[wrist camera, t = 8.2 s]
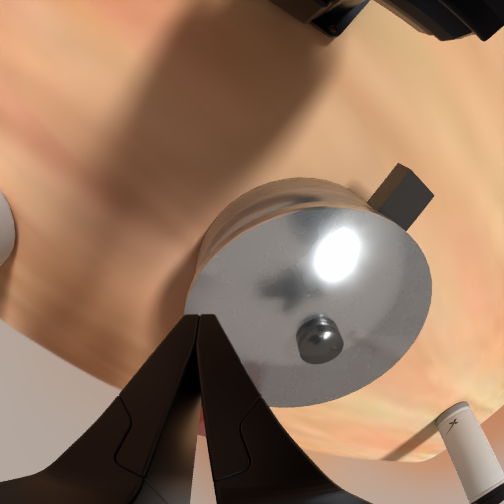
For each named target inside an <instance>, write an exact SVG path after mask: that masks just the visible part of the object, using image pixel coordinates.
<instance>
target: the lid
mask: <svg viewBox="0 0 504 504" xmlns="http://www.w3.org/2000/svg"><path fill="white" fill-rule="evenodd" d="M431 295H432V280H431V274H430V269H429V266H428V263H427V260H426V258H425V255H424V254H423V252H422V250H421V249H420V247H419V245H418V244H417V243H416V242H415V241H414V240H413V238H412V237H411V236H410V235H409V234H408V233H407V232H406V231H405V230H404V229H403V228H401V227H400V226H399V225H398V224H397V223H395V222H394V221H393V220H391V219H390V218H389V217H387V216H385V215H383V214H381V213H379V212H377V211H376V210H373V209H370V208H367V207H364V206H361V205H358V204H352V203H346V202H339V201H317V202H308V203H300V204H296V205H292V206H288V207H284V208H280V209H278V210H275V211H272V212H270V213H267V214H265V215H262V216H260V217H258V218H256V219H254V220H252V221H251V222H249V223H247V224H245V225H243V226H242V227H240V228H239V229H238V230H236V231H235V232H233V233H232V234H231V235H229V236H228V237H226V238H225V239H224V240H223V241H222V242H221V243H220V244H219V245H218V246H217V247H216V248H215V249H214V250H213V251H212V252H211V253H210V254H209V256H208V257H207V258H206V259H205V261H204V262H203V263H202V264H201V266H200V268H199V269H198V271H197V273H196V275H195V276H194V278H193V280H192V283H191V285H190V288H189V290H188V293H187V298H186V303H185V308H184V314H183V316H184V315H185V314H198V315H199V316H200V315H201V314H215V315H216V317H217V318H218V320H219V322H220V324H221V326H222V327H223V329H224V331H225V333H226V335H227V336H228V338H229V340H230V342H231V344H232V345H233V347H234V349H235V351H236V352H237V354H238V356H239V358H240V359H241V361H242V363H243V365H244V366H245V368H246V370H247V371H248V373H249V375H250V377H251V378H252V380H253V382H254V383H255V385H256V387H257V388H258V390H259V392H260V393H261V395H262V398H264V400H265V401H266V403H267V405H268V406H269V407H302V406H309V405H315V404H320V403H324V402H328V401H331V400H335V399H337V398H340V397H343V396H346V395H348V394H350V393H352V392H355V391H357V390H359V389H361V388H363V387H364V386H366V385H368V384H370V383H371V382H373V381H374V380H376V379H377V378H379V377H380V376H382V375H383V374H384V373H385V372H387V371H388V370H389V369H390V368H391V367H392V366H394V365H395V364H396V363H397V362H398V361H399V360H400V359H401V358H402V357H403V355H404V354H405V353H406V352H407V351H408V350H409V348H410V347H411V345H412V344H413V343H414V341H415V340H416V338H417V336H418V335H419V333H420V331H421V329H422V327H423V325H424V322H425V320H426V318H427V315H428V311H429V307H430V303H431ZM198 435H202V436H205V437H206V432H205V425H204V417H203V409H202V407H201V410H200V418H199V426H198Z"/></svg>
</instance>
